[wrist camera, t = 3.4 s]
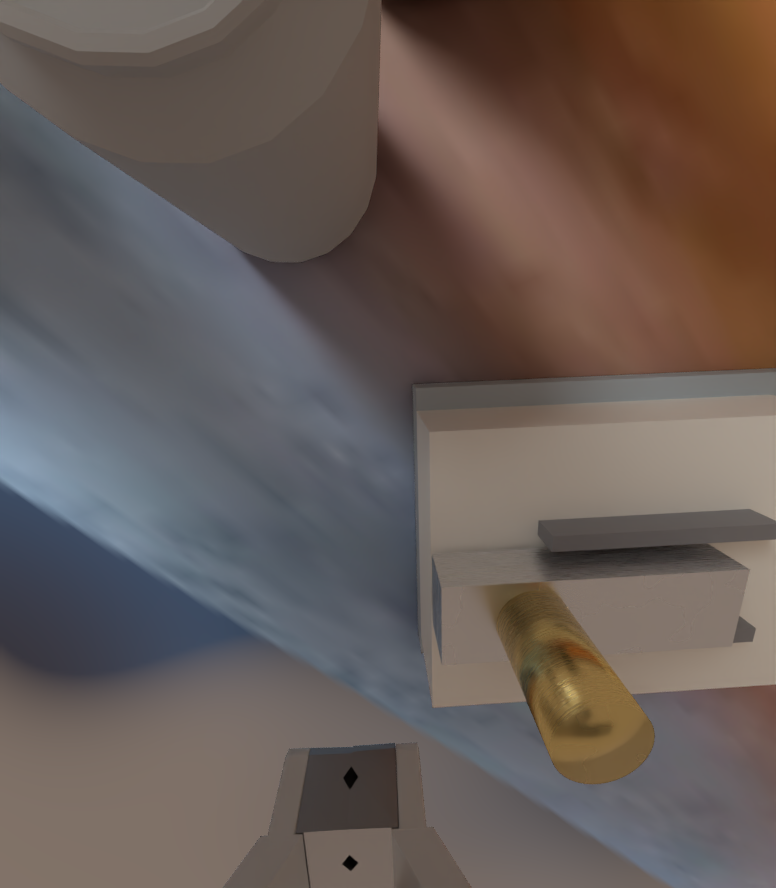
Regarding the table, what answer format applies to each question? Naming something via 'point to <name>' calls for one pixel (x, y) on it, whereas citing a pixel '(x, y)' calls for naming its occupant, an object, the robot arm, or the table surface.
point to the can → (216, 105)
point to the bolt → (584, 634)
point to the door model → (602, 499)
